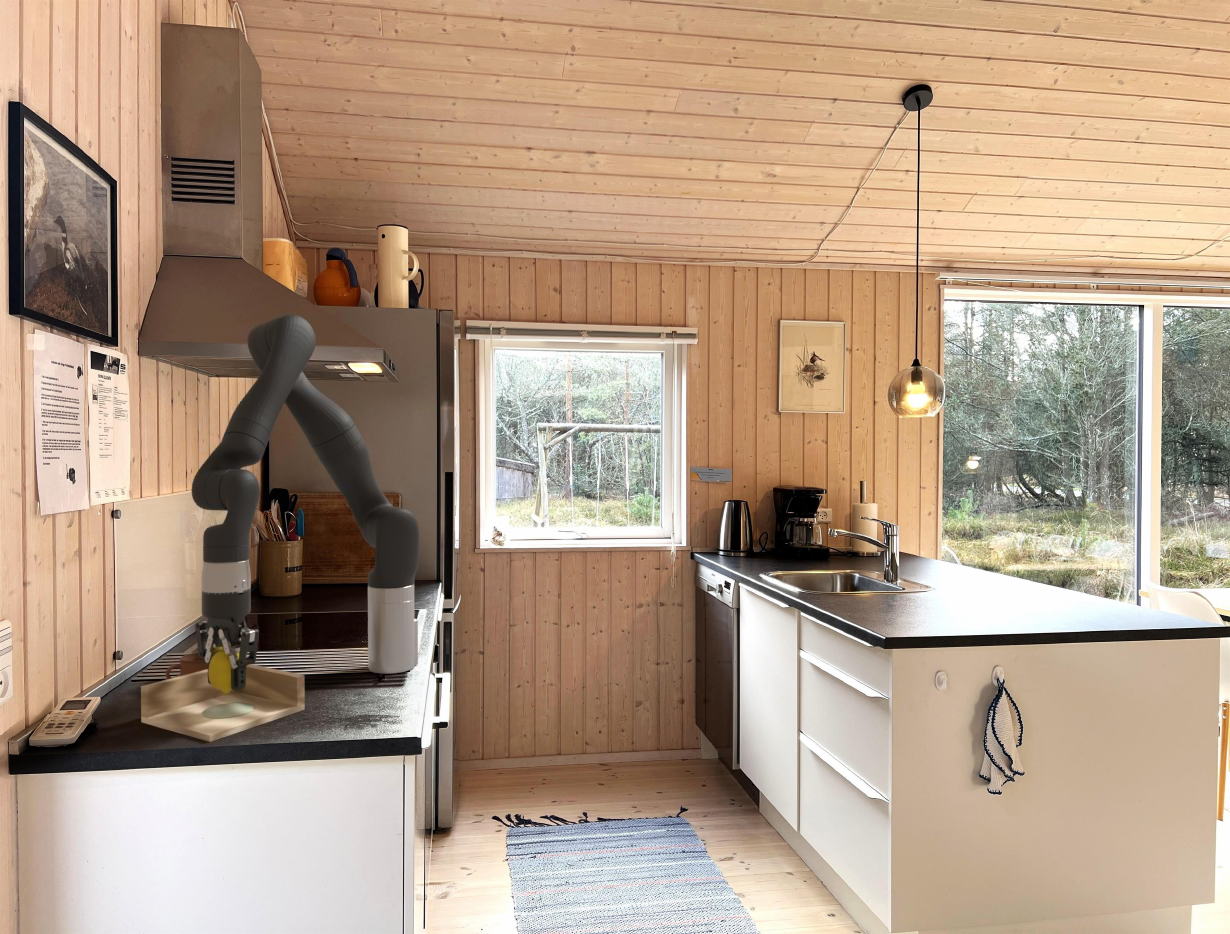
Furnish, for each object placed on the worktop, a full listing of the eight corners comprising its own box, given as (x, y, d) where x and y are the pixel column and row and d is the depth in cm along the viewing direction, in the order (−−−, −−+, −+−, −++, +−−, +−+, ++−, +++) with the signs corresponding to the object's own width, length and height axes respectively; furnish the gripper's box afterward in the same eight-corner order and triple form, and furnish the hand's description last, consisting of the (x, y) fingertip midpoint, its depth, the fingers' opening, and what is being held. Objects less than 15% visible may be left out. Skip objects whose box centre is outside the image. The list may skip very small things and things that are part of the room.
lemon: (246, 687, 145) (246, 642, 144) (241, 697, 139) (241, 650, 139) (211, 690, 143) (211, 643, 143) (205, 699, 138) (205, 651, 137)
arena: (237, 693, 154) (237, 661, 154) (304, 709, 145) (304, 675, 145) (141, 722, 138) (140, 686, 138) (210, 741, 129) (209, 703, 129)
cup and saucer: (192, 702, 150) (192, 668, 149) (152, 692, 155) (151, 659, 155) (250, 685, 160) (250, 653, 160) (211, 676, 166) (210, 645, 166)
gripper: (179, 586, 141) (179, 685, 141) (233, 594, 134) (234, 699, 134) (219, 580, 147) (220, 674, 148) (273, 587, 140) (273, 687, 141)
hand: (226, 685), depth 141 cm, fingers closed on lemon, 5 cm apart
